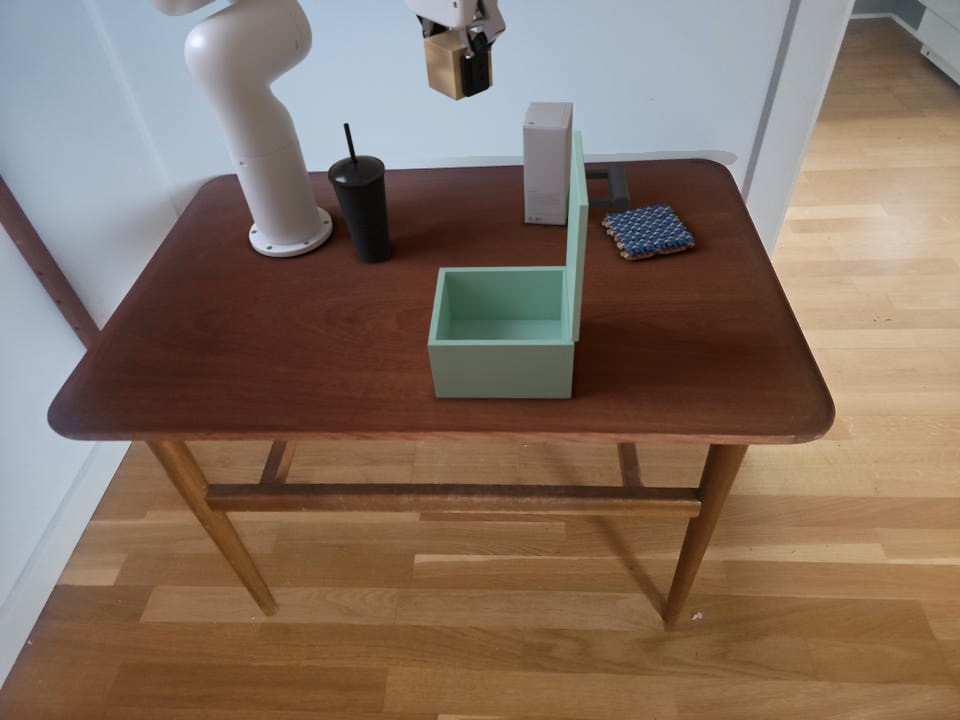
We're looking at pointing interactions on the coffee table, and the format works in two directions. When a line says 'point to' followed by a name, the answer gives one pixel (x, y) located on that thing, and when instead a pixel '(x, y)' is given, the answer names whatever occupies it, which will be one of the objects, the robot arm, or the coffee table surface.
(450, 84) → the maple block
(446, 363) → the compartment
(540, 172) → the cosmetic box
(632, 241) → the woven mat
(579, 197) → the compartment lid
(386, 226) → the drinking cup
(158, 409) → the coffee table surface
